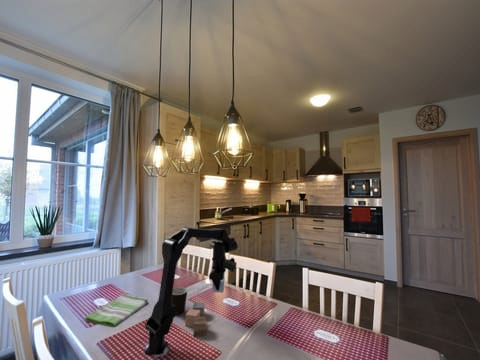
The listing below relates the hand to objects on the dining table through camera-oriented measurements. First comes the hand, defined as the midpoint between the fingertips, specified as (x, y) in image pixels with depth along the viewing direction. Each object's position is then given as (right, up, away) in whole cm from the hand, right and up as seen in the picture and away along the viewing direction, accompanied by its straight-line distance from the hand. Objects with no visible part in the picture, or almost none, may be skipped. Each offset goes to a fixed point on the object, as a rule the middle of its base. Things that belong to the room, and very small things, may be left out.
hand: (218, 287), depth 109 cm
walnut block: (-7, -13, -13) cm, 19 cm away
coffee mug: (-20, -13, +4) cm, 24 cm away
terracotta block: (-11, -13, -7) cm, 18 cm away
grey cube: (0, -1, 0) cm, 1 cm away
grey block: (-10, -13, 0) cm, 16 cm away
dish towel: (-49, -13, +3) cm, 51 cm away
